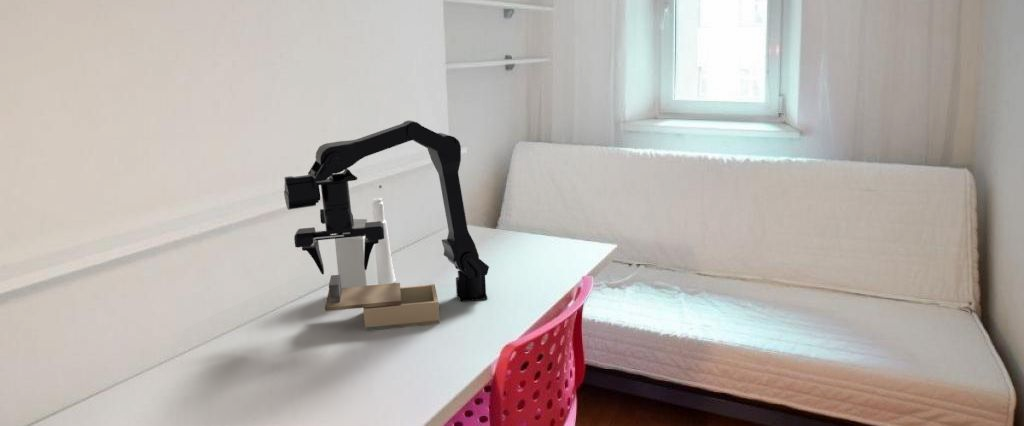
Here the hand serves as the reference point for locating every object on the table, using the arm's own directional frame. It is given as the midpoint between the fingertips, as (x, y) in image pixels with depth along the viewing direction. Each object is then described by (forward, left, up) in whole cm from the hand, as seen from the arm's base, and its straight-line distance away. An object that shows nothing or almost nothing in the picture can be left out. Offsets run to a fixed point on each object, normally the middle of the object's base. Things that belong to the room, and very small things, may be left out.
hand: (344, 271), depth 158 cm
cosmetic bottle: (-8, -25, -12) cm, 29 cm away
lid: (-4, +1, -6) cm, 7 cm away
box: (-12, +1, -12) cm, 16 cm away
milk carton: (-2, -18, -12) cm, 22 cm away
